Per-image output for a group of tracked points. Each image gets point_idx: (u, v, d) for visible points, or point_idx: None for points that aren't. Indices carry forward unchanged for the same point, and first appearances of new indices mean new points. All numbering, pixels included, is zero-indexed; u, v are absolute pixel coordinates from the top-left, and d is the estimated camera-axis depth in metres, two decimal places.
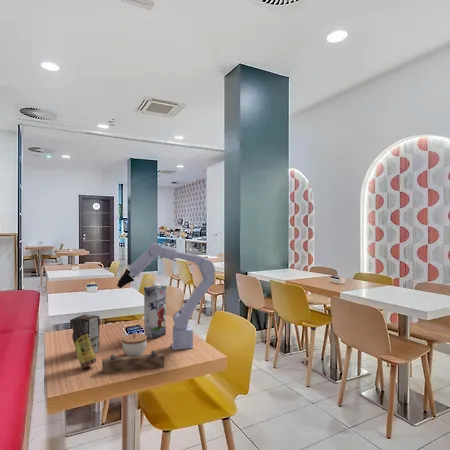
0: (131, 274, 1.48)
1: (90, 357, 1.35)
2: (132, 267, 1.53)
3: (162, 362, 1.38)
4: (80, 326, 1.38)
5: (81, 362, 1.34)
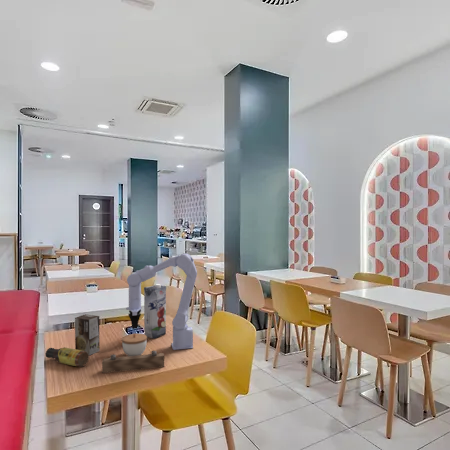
0: (134, 313, 1.53)
1: (77, 352, 1.38)
2: (131, 307, 1.58)
3: (162, 362, 1.38)
4: (55, 349, 1.44)
5: (73, 361, 1.36)
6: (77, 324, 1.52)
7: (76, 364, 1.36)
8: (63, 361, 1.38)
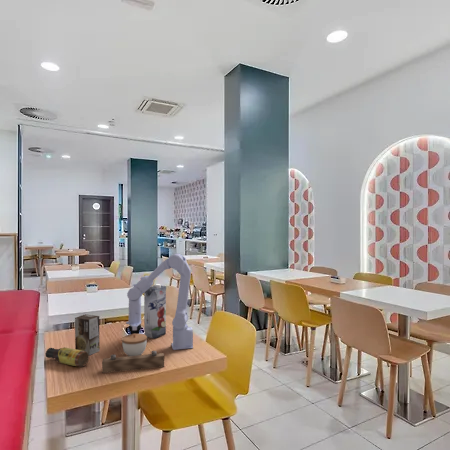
0: (134, 328, 1.53)
1: (77, 352, 1.38)
2: (131, 321, 1.58)
3: (162, 362, 1.38)
4: (55, 349, 1.44)
5: (73, 361, 1.36)
6: (77, 324, 1.52)
7: (76, 364, 1.36)
8: (63, 361, 1.38)
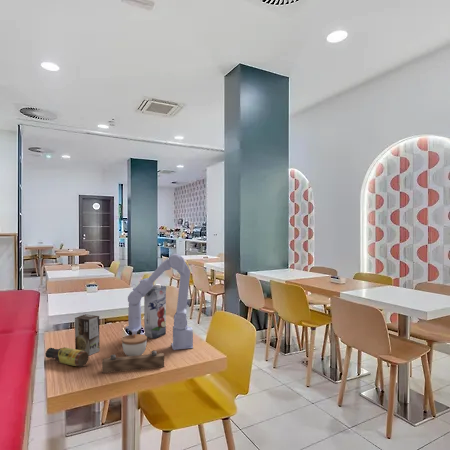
0: (134, 333, 1.50)
1: (77, 352, 1.38)
2: (130, 326, 1.54)
3: (162, 362, 1.38)
4: (55, 349, 1.44)
5: (73, 361, 1.36)
6: (77, 324, 1.52)
7: (76, 364, 1.36)
8: (63, 361, 1.38)
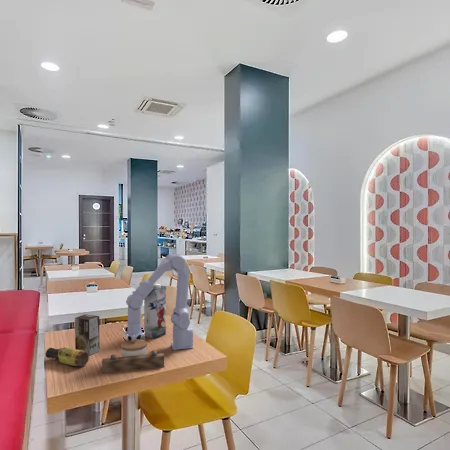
0: (133, 339, 1.42)
1: (77, 352, 1.38)
2: (130, 331, 1.47)
3: (162, 362, 1.38)
4: (55, 349, 1.44)
5: (73, 361, 1.36)
6: (77, 324, 1.52)
7: (76, 364, 1.36)
8: (63, 361, 1.38)
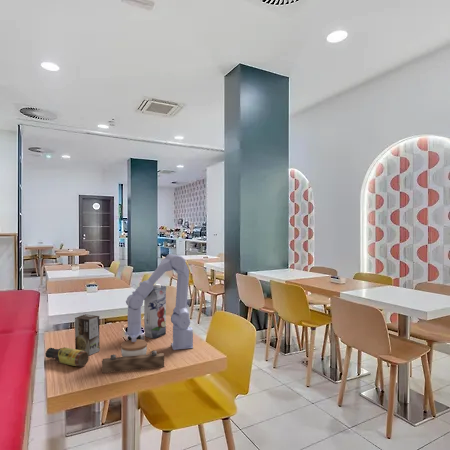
0: (133, 339, 1.42)
1: (77, 352, 1.38)
2: (130, 331, 1.46)
3: (162, 362, 1.38)
4: (55, 349, 1.44)
5: (73, 361, 1.36)
6: (77, 324, 1.52)
7: (76, 364, 1.36)
8: (63, 361, 1.38)
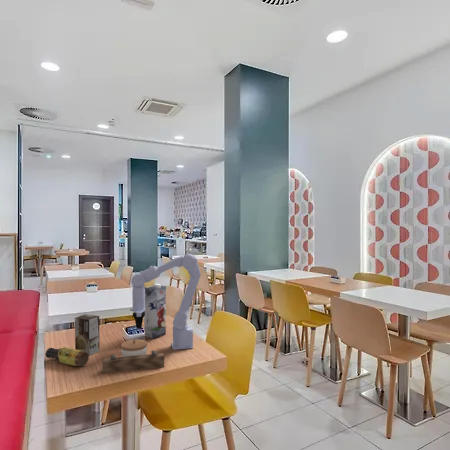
0: (138, 314, 1.52)
1: (77, 352, 1.38)
2: (135, 308, 1.56)
3: (162, 362, 1.38)
4: (55, 349, 1.44)
5: (73, 361, 1.36)
6: (77, 324, 1.52)
7: (76, 364, 1.36)
8: (63, 361, 1.38)
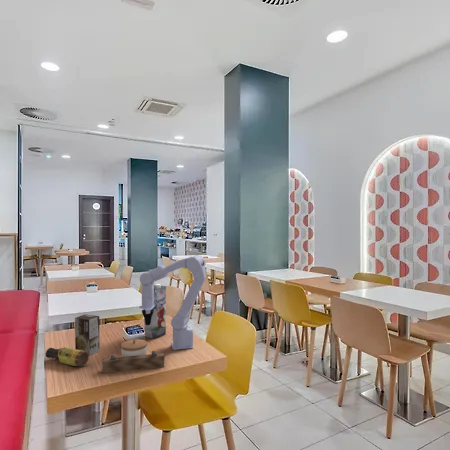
0: (147, 311, 1.56)
1: (77, 352, 1.38)
2: (144, 305, 1.61)
3: (162, 362, 1.38)
4: (55, 349, 1.44)
5: (73, 361, 1.36)
6: (77, 324, 1.52)
7: (76, 364, 1.36)
8: (63, 361, 1.38)
